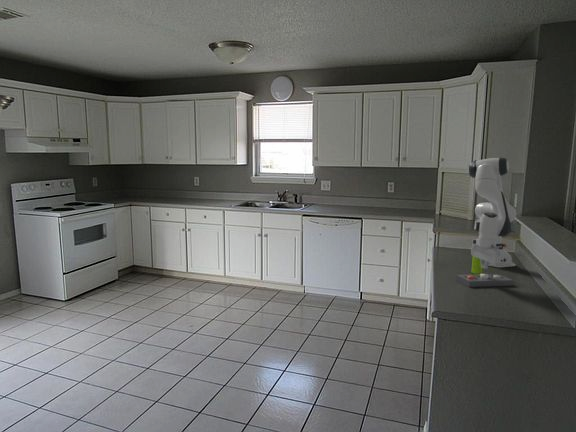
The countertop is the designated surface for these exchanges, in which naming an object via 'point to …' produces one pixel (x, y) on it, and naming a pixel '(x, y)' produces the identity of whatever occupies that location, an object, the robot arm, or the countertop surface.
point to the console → (484, 280)
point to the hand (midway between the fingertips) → (484, 268)
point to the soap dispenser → (476, 266)
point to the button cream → (484, 276)
